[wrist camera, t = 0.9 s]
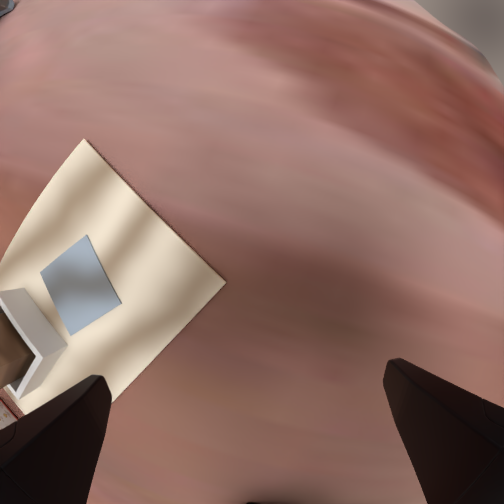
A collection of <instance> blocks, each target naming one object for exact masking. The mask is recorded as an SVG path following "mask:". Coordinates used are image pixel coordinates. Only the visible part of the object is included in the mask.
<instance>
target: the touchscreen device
mask: <svg viewBox="0 0 504 504" xmlns="http://www.w3.org/2000/svg"><path fill="white" fill-rule="evenodd" d="M14 5H15V4H14V2H13V0H0V16H2V15H3V14H5V13H7V12H10V11H11V10H13V8H14Z"/></svg>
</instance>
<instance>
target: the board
mask: <svg viewBox="0 0 504 504" xmlns="http://www.w3.org/2000/svg"><path fill="white" fill-rule="evenodd" d="M225 283H226V281H225V280H224V279H223V278H222V277H221V276H220V275H219V274H218V273H217V272H215V271H214V270H213V269H212V268H211V267H210V266H209V265H208V264H207V263H206V262H205V261H204V260H203V259H202V258H201V257H200V256H199V255H198V254H197V253H196V252H195V251H194V250H193V249H192V248H191V247H190V246H189V245H188V244H186V243H185V242H184V241H183V240H182V239H181V238H180V237H179V236H178V235H177V234H176V233H175V232H174V231H173V230H172V229H171V228H170V227H169V226H168V225H167V224H166V223H165V222H164V221H163V220H162V219H161V218H160V217H159V216H158V215H157V214H156V213H155V212H154V211H153V210H152V209H151V208H150V207H149V206H148V205H147V204H146V203H145V202H144V201H143V200H142V199H141V197H140V196H139V195H138V194H137V193H136V192H135V191H134V190H133V189H132V188H131V187H130V186H129V185H128V184H127V183H126V182H125V181H124V180H123V179H122V178H121V177H120V176H119V175H118V174H117V173H116V172H115V171H114V169H113V168H112V167H111V166H110V165H109V164H108V163H107V162H106V161H105V160H104V159H103V158H102V157H101V156H100V155H99V154H98V152H97V151H96V150H95V149H94V148H93V147H92V146H91V145H90V144H89V143H88V142H87V141H86V140H85V139H83V140H82V141H81V142H80V144H79V145H78V146H77V147H76V148H75V150H74V151H73V152H72V153H71V154H70V156H69V157H68V158H67V159H66V161H65V162H64V163H63V165H62V166H61V167H60V169H59V170H58V171H57V172H56V174H55V175H54V177H53V178H52V179H51V181H50V182H49V183H48V185H47V186H46V188H45V189H44V190H43V192H42V193H41V195H40V196H39V198H38V199H37V201H36V202H35V204H34V205H33V207H32V208H31V210H30V212H29V213H28V215H27V216H26V218H25V220H24V221H23V223H22V224H21V226H20V228H19V230H18V231H17V233H16V235H15V236H14V238H13V240H12V242H11V244H10V245H9V247H8V249H7V251H6V253H5V255H4V257H3V259H2V261H1V262H0V291H5V290H12V289H19V288H25V290H26V291H27V293H28V294H29V296H30V297H31V298H32V300H33V301H34V303H35V304H36V305H37V307H38V308H39V309H40V311H41V312H42V314H43V315H44V316H45V317H46V319H47V320H48V321H49V323H50V324H51V325H52V326H53V328H54V329H55V330H56V331H57V333H58V334H59V335H60V336H61V338H62V339H63V340H64V341H65V342H66V343H67V345H68V346H67V347H66V349H65V350H64V352H63V353H62V355H61V356H60V357H59V359H58V360H57V362H56V363H55V365H54V366H53V368H52V369H51V371H50V372H49V374H48V375H47V377H46V378H45V380H44V381H43V383H42V384H41V386H40V387H38V388H37V389H35V390H34V391H32V392H30V393H29V394H27V395H26V396H24V397H23V398H21V399H19V400H18V399H17V398H16V397H15V396H14V394H13V393H12V392H11V391H10V389H9V388H8V387H7V386H5V387H3V388H4V389H5V391H6V392H7V393H8V395H9V396H10V397H11V398H12V400H13V401H14V402H15V403H16V405H17V406H18V407H19V408H20V409H21V411H22V412H23V413H24V414H25V415H26V414H28V413H30V412H31V411H33V410H35V409H36V408H38V407H40V406H41V405H43V404H45V403H46V402H48V401H49V400H51V399H53V398H54V397H56V396H58V395H59V394H61V393H63V392H64V391H66V390H67V389H69V388H71V387H72V386H74V385H75V384H77V383H79V382H80V381H82V380H83V379H85V378H87V377H88V376H90V375H92V374H95V375H102V376H104V378H105V379H106V382H107V384H108V387H109V389H110V391H111V394H112V402H113V401H114V400H115V399H116V398H117V397H118V396H119V395H120V394H121V393H122V392H123V391H124V390H125V389H126V388H127V387H128V386H129V384H130V383H131V382H132V381H133V380H134V379H135V378H136V377H137V376H138V375H139V374H140V373H141V372H142V371H143V370H144V369H145V368H146V367H147V366H148V365H149V363H150V362H151V361H152V360H153V359H154V358H155V357H156V356H157V355H158V354H159V353H160V352H161V351H162V350H163V349H164V348H165V347H166V346H167V345H168V344H169V342H170V341H171V340H172V339H173V338H174V337H175V336H176V335H177V334H178V333H179V332H180V331H181V330H182V329H183V328H184V327H185V326H186V325H187V324H188V322H189V321H190V320H191V319H192V318H193V317H194V316H195V315H196V314H197V313H198V312H199V311H200V310H201V309H202V308H203V307H204V306H205V305H206V304H207V302H208V301H209V300H210V299H211V298H212V297H213V296H214V295H215V294H216V293H217V292H218V291H219V290H220V289H221V288H222V287H223V286H224V285H225Z"/></svg>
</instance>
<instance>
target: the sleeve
mask: <svg viewBox="0 0 504 504" xmlns="http://www.w3.org/2000/svg"><path fill="white" fill-rule="evenodd" d="M1 313H5V314H6V315H7V317H8V318H9V320H10V321H11V323H12V324H13V326H14V327H15V329H16V330H17V331H18V333H19V334H20V336H21V337H22V338H23V340H24V341H25V343H26V344H27V345H28V347H29V348H30V349H31V350H32V352H33V353H34V354H35V356H36V357H35V359H34V361H33V362H32V364H31V366H30V368H29V369H28V371H27V373H26V375H25V376H23V377H21V378H19V379H17V380H16V381H14V382H12V383H10V384H8V385H7V387H8V388H9V389H10V391H11V392H12V393H13V394H14V396H15V397H16V398H17V399H18V400H19V399H21V398H23V397H24V396H26V395H27V394H29V393H30V392H32V391H34V390H35V389H37V388H38V387H40V386H41V384H42V383H43V381H44V380H45V378H46V377H47V375H48V374H49V372H50V371H51V369H52V368H53V366H54V365H55V363H56V362H57V360H58V359H59V357H60V356H61V355H62V353H63V352H64V350H65V349H66V347H67V346H68V345H67V343H66V342H65V341H64V340H63V339H62V338H61V336H60V335H59V334H58V333H57V331H56V330H55V329H54V328H53V326H52V325H51V324H50V323H49V321H48V320H47V319H46V317H45V316H44V315H43V314H42V312H41V311H40V309H39V308H38V307H37V305H36V304H35V303H34V301H33V300H32V298H31V297H30V296H29V294H28V293H27V291H26V290H25V288H19V289H12V290H5V291H0V314H1Z"/></svg>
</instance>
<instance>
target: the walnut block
mask: <svg viewBox="0 0 504 504" xmlns="http://www.w3.org/2000/svg"><path fill="white" fill-rule="evenodd" d="M35 357H36V356H35V354H34V353H33V352H32V350H31V349H30V348H29V347H28V345H27V344H26V343H25V341H24V340H23V338H22V337H21V336H20V334H19V333H18V331H17V330H16V329H15V327H14V326H13V324H12V323H11V321H10V320H9V318H8V317H7V315H6V314H5V313H1V314H0V389H1V388H3V387H5V386H7V385H8V384H10V383H12V382H14V381H16V380H17V379H19V378H21V377H23V376H25V375H26V373H27V371H28V369H29V368H30V366H31V364H32V362H33V361H34V359H35Z"/></svg>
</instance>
